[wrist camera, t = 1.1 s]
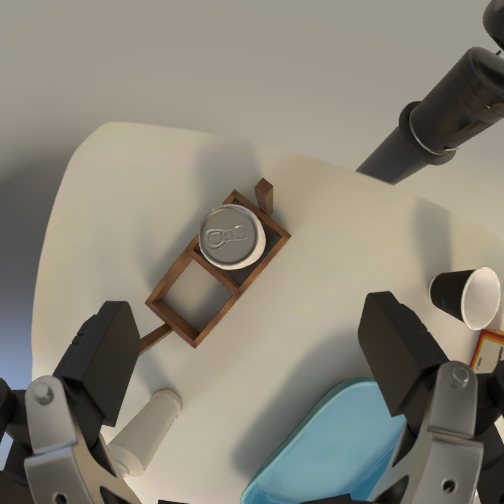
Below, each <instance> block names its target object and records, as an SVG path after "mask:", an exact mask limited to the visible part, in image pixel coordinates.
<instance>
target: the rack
mask: <svg viewBox="0 0 504 504" xmlns="http://www.w3.org/2000/svg"><path fill="white" fill-rule="evenodd" d="M254 190H255V193H256V197H257V201H258V205H259V208H260V209H259V208H257V207H256V206H255V205H254V204H253V203H251V202H250V201H249V200H248V199H246V198H245V197H244V196H243V195H241V194H240V193H239V192H238V191H236V190H234V191H233V192H232V193H231V194H230V195H229V197H228V198H227V199H226V200H225V201H224V202H223V204H222V205H227V204H235V205H237V204H238V203H239V204H240V205H242V206H243V207H245V208H247V209H249V210H250V211H252V212H253V213H254V214H255V215H256V216H257V218H258V219H259V220H260V221H261V222H262V223H264V224H265V225H266V226H267V227H269V228H270V229H271V230H272V231H273V232H275V233H276V234H277V235H278V236H279V237H281V239H280V240H279V241H278V242H277V243H276V245H275V246H274V247H273V248H272V249H271V251H270V252H269V253H268V254H267V255H266V257H265V258H264V259H263V260H262V261H261V263H260V264H259V265H258V266H257V267H256V269H255V270H254V271H253V272H252V273H251V274H250V276H249V277H248V278H247V279H246V280H245V282H244V283H243V284H242V285H239V284H238V283H237V282H236V281H235V280H234V279H232V278H231V277H230V276H229V275H228V274H226V273H225V272H224V271H223V270H222V269H221V268H220V267H217V266H215V265H213V264H212V263H211V262H209V261H208V260H207V259H206V257H205V256H204V255H203V253H202V252H201V251H200V249H201V248H200V245H199V240H198V234H197V235H196V237H195V238H194V239H193V240H192V241H191V243H190V244H189V245H188V246H187V248H186V249H185V250H184V252H183V253H182V254H181V255H180V257H179V258H178V259H177V261H176V262H175V263H174V264H173V266H172V267H171V268H170V270H169V271H168V272H167V274H166V275H165V276H164V277H163V279H162V280H161V281H160V283H159V284H158V285H157V287H156V288H155V289H154V291H153V292H152V293H151V295H150V296H149V297H148V299H147V300H146V302H145V304H146V305H147V306H148V307H149V308H150V309H151V310H152V311H153V312H154V313H155V314H156V315H157V316H158V317H160V318H161V319H162V320H163V321H164V322H165V324H164V325H162V326H161V327H159V328H157V329H156V330H154V331H153V332H151V333H149V334H148V335H146V336H144V337H143V338H141V349H140V353H139V356H140V355H141V354H143V353H144V352H145V351H147V350H148V349H149V348H151V347H152V346H154V345H155V344H156V343H158V342H159V341H160V340H162V339H163V338H164V337H166V336H167V335H168V334H170V333H171V332H172V331H175V332H176V333H177V334H178V335H179V336H180V337H182V338H183V339H184V340H185V341H186V342H187V343H189V344H190V345H191V346H192V347H193V348H194V349H195V348H196V347H197V346H198V345H199V344H200V343H201V342H202V340H203V339H204V338H205V337H206V336H207V335H208V334H209V332H210V331H211V330H212V329H213V328H214V327H215V325H216V324H217V323H218V322H219V321H220V320H221V319H222V317H223V316H224V315H225V314H226V313H227V312H228V310H229V309H230V308H231V307H232V306H233V305H234V303H235V302H236V301H237V300H238V299H239V298H240V296H241V295H242V294H243V293H244V292H245V291H246V289H247V288H248V287H249V286H250V285H251V284H252V282H253V281H254V280H255V279H256V278H257V276H258V275H259V274H260V273H261V272H262V270H263V269H264V268H265V267H266V266H267V265H268V263H269V262H270V261H271V260H272V259H273V257H274V256H275V255H276V254H277V253H278V251H279V250H280V249H281V248H282V247H283V245H284V244H285V243H286V242H287V241H288V239H289V238H290V237H291V235H290V234H289V233H288V232H287V231H285V230H284V229H283V228H282V227H281V226H279V225H278V224H277V223H276V222H275V221H273V220H272V219H271V218H270V217H269V216H270V214H271V213H272V212H273V185H272V184H270V183H269V182H268V181H266V180H265V179H264V178H262V179H261V180H260V181H259V182H258V183H257V185H256V186H255V187H254ZM222 205H221V206H222ZM192 259H194V260H196V261H197V262H198V263H199V264H200V265H201V266H202V267H204V268H205V269H206V270H207V271H208V272H209V273H210V274H212V275H213V276H214V277H215V278H216V279H217V280H218V281H220V282H221V283H222V284H223V285H224V286H225V287H227V288H228V289H229V290H230V291H231V292H233V293H234V295H233V296H232V297H231V298H230V299H229V300H228V302H227V303H226V304H225V305H224V306H223V308H222V309H221V310H220V311H219V312H218V313H217V315H216V316H215V317H214V318H213V319H212V320H211V322H210V323H209V324H208V325H207V326H206V327H205V329H204V330H203V331H202V332H201V333H200V334H199V333H198V332H197V331H196V330H195V329H194V328H192V327H191V326H190V325H189V324H188V323H187V322H186V321H185V320H183V319H182V318H181V317H180V316H179V315H178V314H177V313H176V312H175V311H173V310H172V309H171V308H170V307H169V306H168V305H167V304H166V303H165V302H164V301H163V300H162V297H163V296H164V295H165V293H166V292H167V291H168V290H169V288H170V287H171V286H172V284H173V283H174V282H175V281H176V279H177V278H178V277H179V275H180V274H181V273H182V272H183V270H184V269H185V268H186V267H187V265H188V264H189V263H190V262H191V260H192ZM139 356H138V357H139Z"/></svg>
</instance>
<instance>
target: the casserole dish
mask: <svg viewBox="0 0 504 504" xmlns="http://www.w3.org/2000/svg"><path fill="white" fill-rule="evenodd" d="M405 420H406V418H405V416H404V414H402V415H399V416H396V417H392V418H391V415H390V413H389V410H388V408H387V405H386V403H385V401H384V398H383V396H382V394H381V391H380V389H379V387H378V384H377V382H376V380H373V379H369V378H359V377H358V378H352V379H349V380H346V381H344V382H342V383H340V384H338V385H337V386H335V387H334V388H333V389H331V390H330V391H329V392H328V393H327V394H326V395H325V396H324V397H323V398H322V399H321V400H320V401H319V402H318V403H317V404H316V405H315V407H314V408H313V409H312V410H311V411H310V412H309V414H308V415H307V416H306V417H305V418H304V420H303V421H302V422H301V423H300V424H299V426H298V427H297V428H296V429H295V430H294V431H293V432H292V434H291V435H290V436H289V437H288V438H287V439H286V440H285V442H284V443H283V444H282V445H281V446H280V447H279V448H278V449H277V450H276V452H275V453H274V454H273V455H272V456H271V457H270V458H269V459H268V460H267V461H266V462H265V463H264V464H263V466H262V467H261V468H260V469H259V470H258V471H257V473H256V474H255V475H254V476H253V478H252V479H251V481H250V482H249V484H248V486H247V487H246V489H245V490H244V492H243V493H242V495H241V498H240V504H299V503H302V502H305V501H312V500H318V499H324V498H329V497H334V496H338V495H343V494H347V493H350V495H351V499H352V500H366V501H367V499H368V497H369V495H370V493H371V491H372V490H373V488H374V486H375V485H376V483H377V482H378V480H379V479H380V478H381V476H382V475H383V473H384V472H385V470H386V468H387V465H388V463H389V461H390V458H391V456H392V453H393V451H394V448H395V445H396V443H397V440H398V437H399V434H400V432H401V429H402V426H403V423H404V422H405Z"/></svg>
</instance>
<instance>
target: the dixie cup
mask: <svg viewBox="0 0 504 504" xmlns="http://www.w3.org/2000/svg"><path fill="white" fill-rule="evenodd" d="M428 295H429V299H430V301H431V302H432V303H433V304H434V305H435V306H436V307H437V308H439V309H441V310H443V311H445V312H446V313H448V314H450V315H452V316H453V317H455V318H457V319H459V320H461V321H462V322H464V323H465V324H466V325H467V326H468V327H469V328H470V329H473V330H480V329H483V328H485V327H486V326H487V325H488V324H489V323H490V322H491V321H492V319H493V318H494V316H495V314H496V312H497V310H498V307H499V303H500V295H501V289H500V282H499V279H498V276H497V274H496V273H495V272H494V270H492V269H491V268H489V267H486V266H484V267H480V268H478V269H475V270H467V271H458V272H448V273H441V274H439V275H437V276H435V277H434V278H433V279H432V281H431V282H430V285H429V289H428Z"/></svg>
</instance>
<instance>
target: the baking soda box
mask: <svg viewBox="0 0 504 504" xmlns="http://www.w3.org/2000/svg"><path fill="white" fill-rule="evenodd" d="M501 360H504V331H501V330H492V329H481V333H480V336H479V340H478V343H477V346H476V350H475V353H474V356H473V359H472V362H471V364H470V368H471V369H472V370H473V371H474V373H475V374H477V373H492V371H493V370H494V368H495V367H496V365H497V364H498V362H499V361H501Z"/></svg>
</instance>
